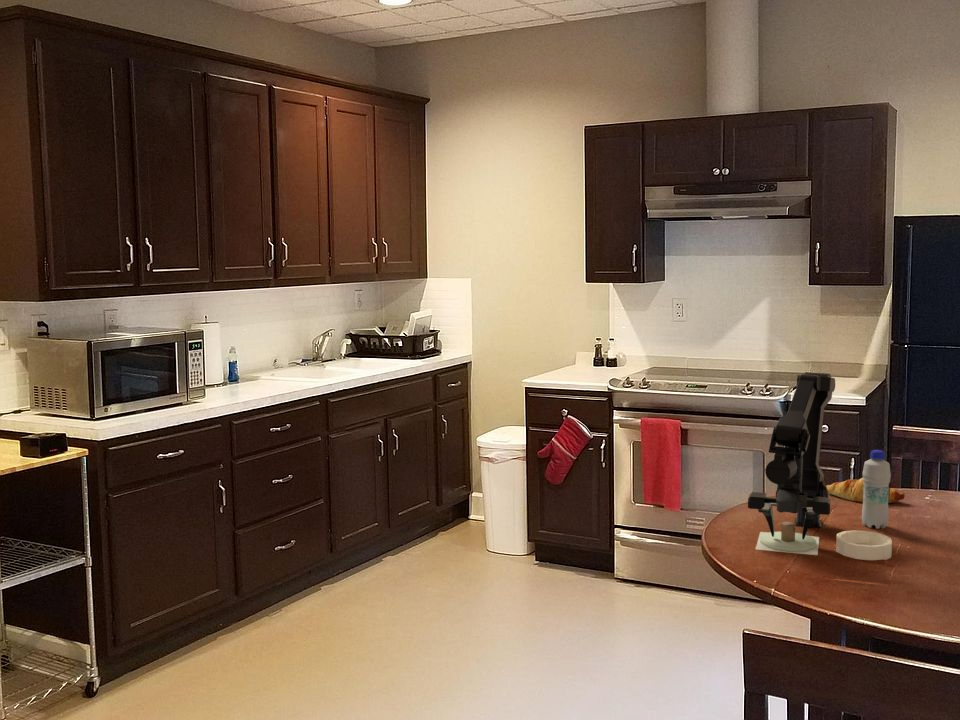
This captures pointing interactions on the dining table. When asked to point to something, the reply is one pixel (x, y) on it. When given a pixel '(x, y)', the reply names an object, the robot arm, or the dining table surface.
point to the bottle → (876, 490)
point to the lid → (788, 539)
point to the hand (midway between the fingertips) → (788, 537)
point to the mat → (811, 552)
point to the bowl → (864, 545)
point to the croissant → (858, 491)
